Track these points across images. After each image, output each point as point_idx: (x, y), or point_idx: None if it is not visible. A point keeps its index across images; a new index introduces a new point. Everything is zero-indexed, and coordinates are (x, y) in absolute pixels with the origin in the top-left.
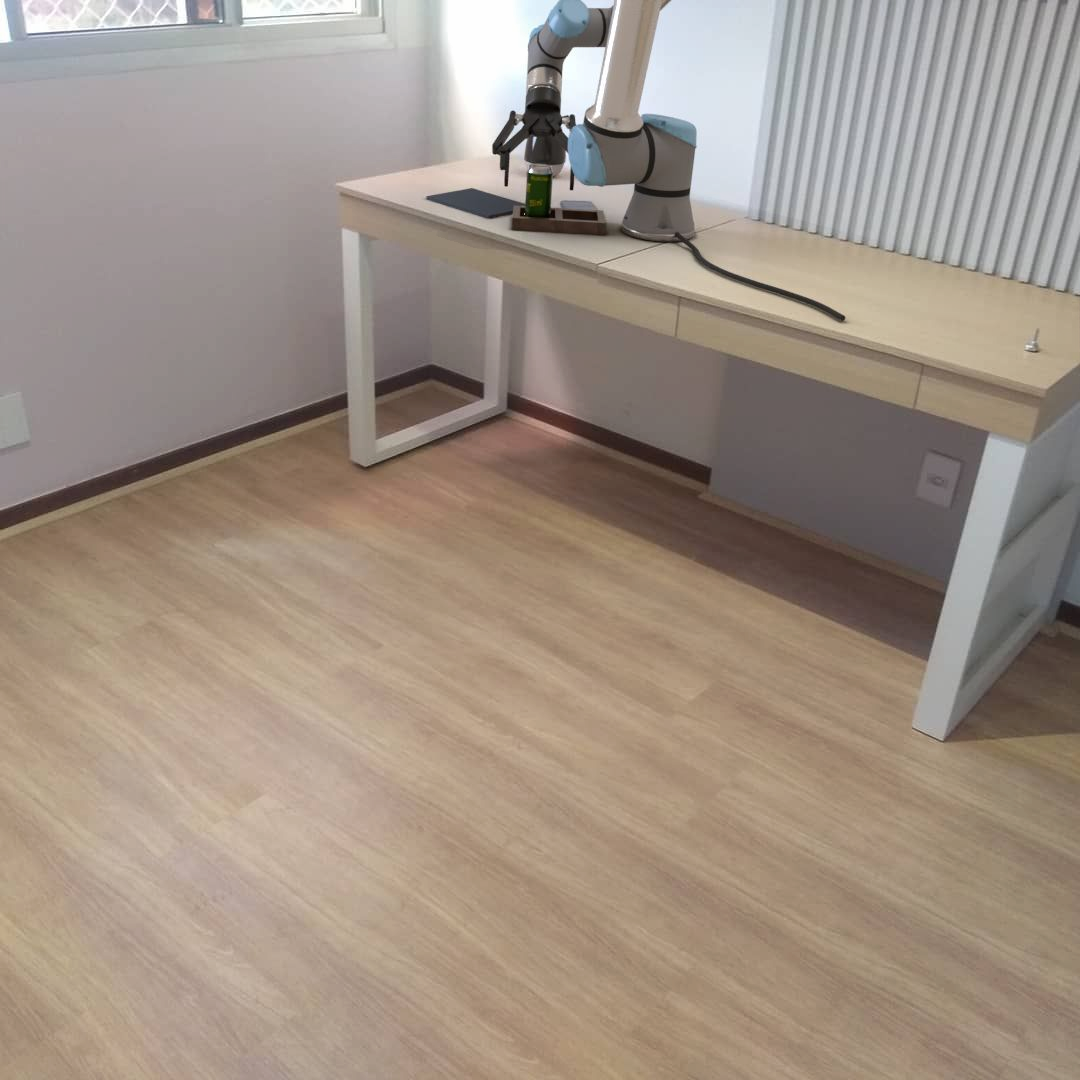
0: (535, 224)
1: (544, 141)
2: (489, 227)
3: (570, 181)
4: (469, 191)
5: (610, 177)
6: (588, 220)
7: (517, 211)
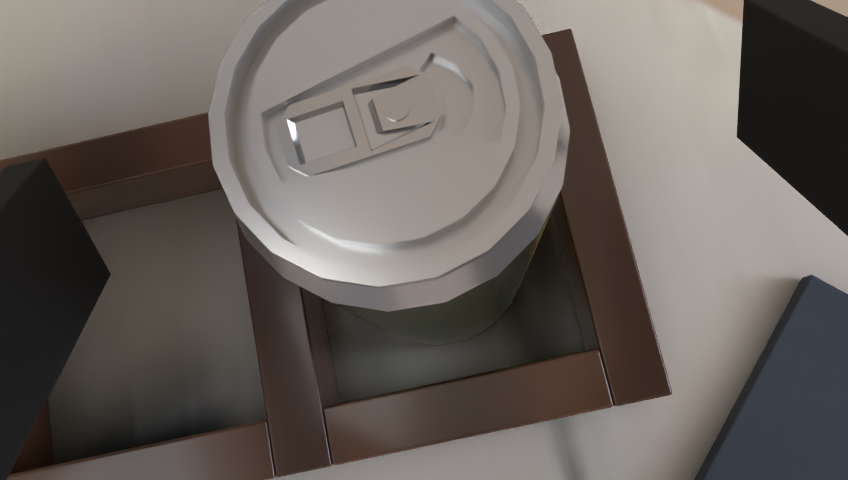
0: None
1: None
2: (716, 65)
3: (37, 166)
4: None
5: None
6: None
7: (586, 215)
